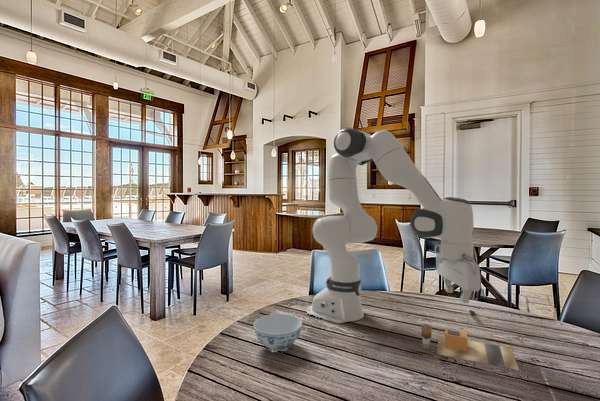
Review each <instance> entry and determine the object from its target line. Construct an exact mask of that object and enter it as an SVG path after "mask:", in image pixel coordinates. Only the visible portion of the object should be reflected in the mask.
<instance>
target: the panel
mask: <svg viewBox="0 0 600 401" xmlns="http://www.w3.org/2000/svg"><path fill="white" fill-rule="evenodd" d="M437 340H438V341H437V348H436V355H440V356H446V357H449V358H450V357H451V358H456V359H460V360H465V361H471V362H477V363H481V364H484V365H485V364H486V365H491V366H495V367H499V368H506V369H511V370H517V371H520V369H519V366H518V363H517V360H516V358H515V354H514V352H513V349H512V347H507V346H502V345H496V344H490V343H485V342H480V341H479V342H478V341H473V340H468V339H467V352H466V351H461V350H455V349H450V348H445V335H441V334H440V335H438V339H437Z"/></svg>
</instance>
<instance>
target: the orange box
mask: <svg viewBox="0 0 600 401" xmlns="http://www.w3.org/2000/svg"><path fill="white" fill-rule="evenodd" d="M444 336H445V348H450V349H455V350H461V351H466V352H467V340H468V333H467V332H465V331H457V330H451V329H445V330H444Z"/></svg>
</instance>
